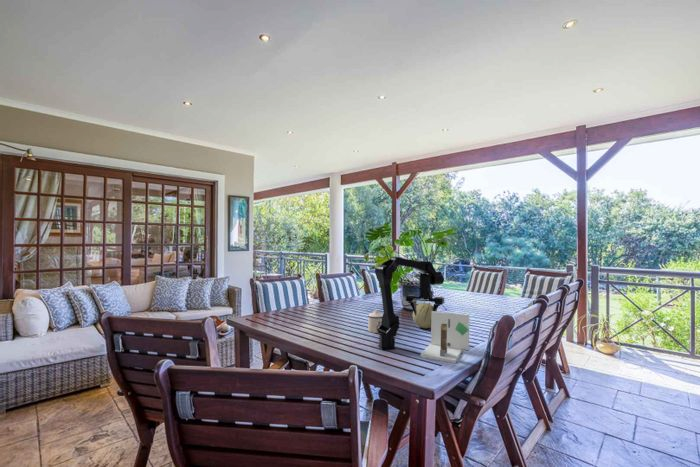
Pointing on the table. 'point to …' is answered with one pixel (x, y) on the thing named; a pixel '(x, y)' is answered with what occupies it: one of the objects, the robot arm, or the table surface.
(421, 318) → the cantaloupe
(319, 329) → the table surface
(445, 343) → the lever
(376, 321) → the teacup with lid
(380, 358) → the table surface
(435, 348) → the gauge base
